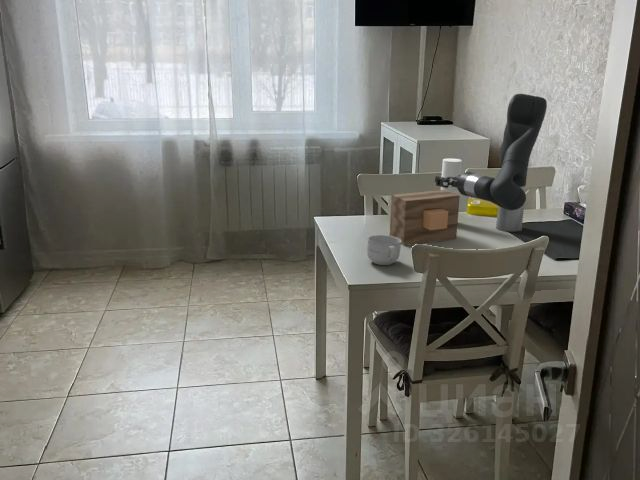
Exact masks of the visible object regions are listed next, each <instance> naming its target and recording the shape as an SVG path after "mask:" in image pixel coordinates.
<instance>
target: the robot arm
mask: <svg viewBox="0 0 640 480" xmlns="http://www.w3.org/2000/svg"><path fill="white" fill-rule="evenodd" d="M547 107H548V102H547V99H546V98H544V97H541V96H538V95H536V96H535V95H532V94H525V93H516V94H514V95H513V96H511V98H510V101H509V103H508V106H507V111H506V112H507V113H506V124H505V127H504V131H503V139H502V142H501V145H500V148H499V151H498V160H499V163H500V164H501V168H500V170H499V171H498V173H497V175H495V176H496V177H491V176H487V175H484V174H481V173H475V172H473V171H472V172H471V171H466V172H463V173H461V175H459V176H457V177H451V176H449V177H447V178H444V177H442V176H439V175H437V176H435V178H434V183H435V187H436V186H437V187H440V188H441V187H444V188H448V187H449V188H455V189H458V191H459V194H460V195H462V196H465V197H468V198H470V197H472V198H475V199H482V200H486V201H490V202H492V203H494V204H496V205H498V212H497V217H496V222H495V223H496V225H495V227H496V229H498V230H500V231H505V232H522V230H523V221H524V220H523V219H524V211H525V203H526V200H527V194H526V188H527V176H528V168H529V163H530V158H531V154H532V151H533V149H534V147H535V144H536V142H537V139H538V136H539V134H540V131H541V128H542V126H543V123H544V120H545V117H546V112H547ZM450 179H452V181H451V182H450Z"/></svg>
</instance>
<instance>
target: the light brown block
mask: <svg viewBox="0 0 640 480" xmlns="http://www.w3.org/2000/svg"><path fill="white" fill-rule="evenodd" d="M447 223H448V211H446V210H443V209H441V208H434V209H424V210H423V223H422V227H424V228H426V229H428V230H437V229H445V228H447Z"/></svg>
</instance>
